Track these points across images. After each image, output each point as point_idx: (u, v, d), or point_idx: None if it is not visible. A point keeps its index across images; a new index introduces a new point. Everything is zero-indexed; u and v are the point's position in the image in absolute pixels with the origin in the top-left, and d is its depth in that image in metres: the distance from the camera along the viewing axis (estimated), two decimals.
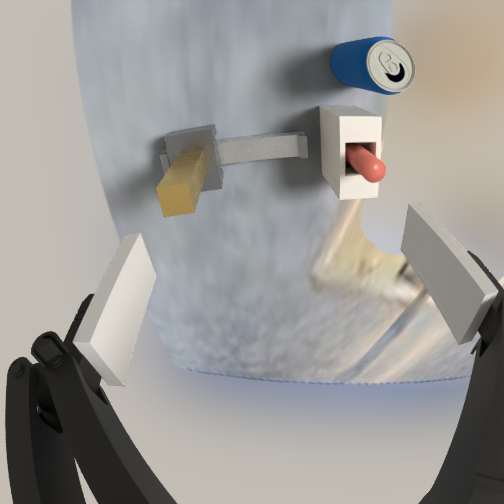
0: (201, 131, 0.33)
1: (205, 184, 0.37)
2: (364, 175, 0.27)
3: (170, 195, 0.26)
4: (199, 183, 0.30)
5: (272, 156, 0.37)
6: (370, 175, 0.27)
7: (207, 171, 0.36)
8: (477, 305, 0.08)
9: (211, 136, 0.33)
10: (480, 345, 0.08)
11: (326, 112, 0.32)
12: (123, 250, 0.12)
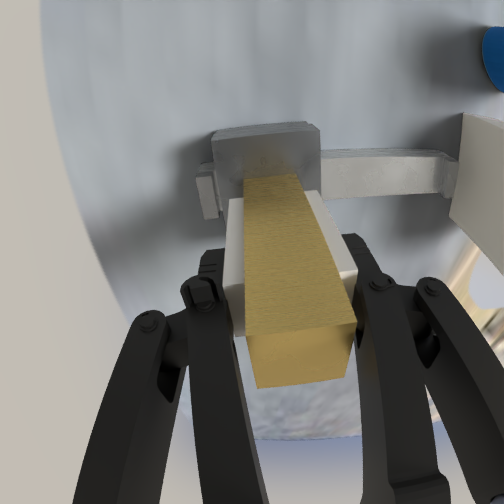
0: (297, 133, 0.15)
1: None
2: None
3: (291, 352, 0.08)
4: None
5: (402, 190, 0.19)
6: None
7: None
8: None
9: (317, 146, 0.15)
10: (355, 335, 0.10)
11: (490, 128, 0.14)
12: (235, 210, 0.14)
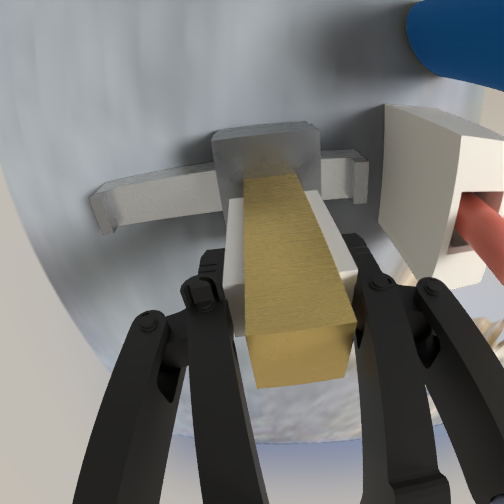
0: (297, 133, 0.15)
1: None
2: (502, 275, 0.10)
3: (291, 352, 0.08)
4: None
5: None
6: None
7: None
8: None
9: (317, 146, 0.15)
10: (355, 335, 0.10)
11: (409, 118, 0.15)
12: (235, 210, 0.14)
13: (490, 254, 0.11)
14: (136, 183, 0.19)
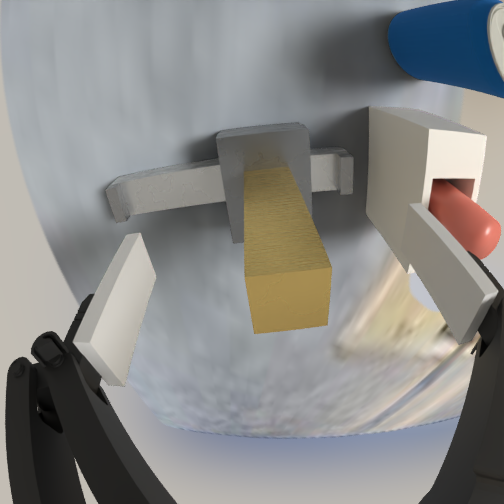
0: (289, 132, 0.18)
1: None
2: (471, 248, 0.12)
3: (280, 294, 0.10)
4: None
5: None
6: (479, 248, 0.12)
7: None
8: (477, 305, 0.08)
9: (307, 143, 0.18)
10: (480, 345, 0.08)
11: (388, 118, 0.17)
12: (123, 250, 0.12)
13: (459, 231, 0.13)
14: (148, 176, 0.21)
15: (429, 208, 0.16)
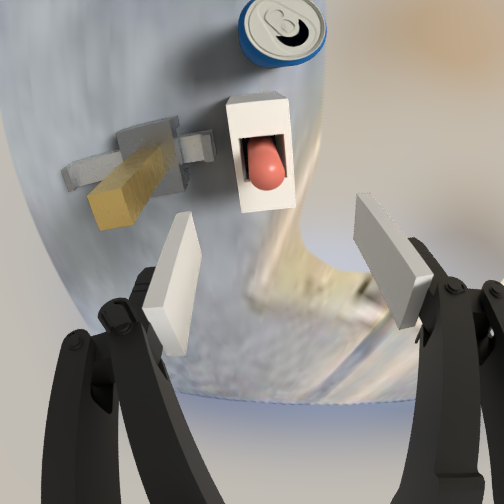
0: (157, 124, 0.26)
1: (165, 187, 0.30)
2: (252, 181, 0.21)
3: (103, 204, 0.19)
4: (148, 187, 0.24)
5: None
6: (261, 180, 0.21)
7: (166, 171, 0.29)
8: (410, 288, 0.09)
9: (169, 129, 0.27)
10: (422, 334, 0.09)
11: None
12: (177, 226, 0.13)
13: None
14: (86, 160, 0.30)
15: None
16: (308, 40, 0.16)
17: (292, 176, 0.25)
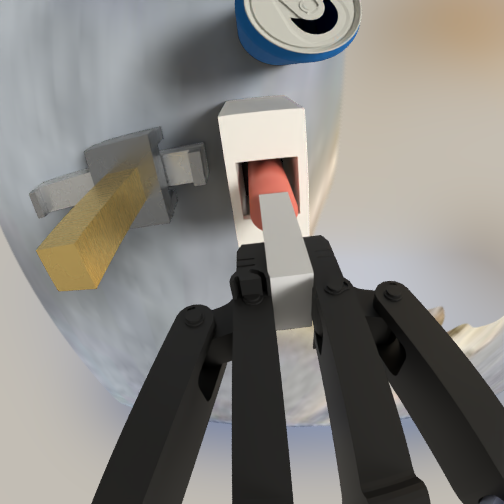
0: (133, 139, 0.20)
1: (146, 217, 0.24)
2: (254, 221, 0.16)
3: (56, 262, 0.13)
4: (119, 227, 0.18)
5: None
6: None
7: (146, 198, 0.23)
8: (290, 286, 0.10)
9: (147, 146, 0.21)
10: (316, 341, 0.10)
11: None
12: (267, 206, 0.14)
13: None
14: (56, 182, 0.24)
15: None
16: (337, 26, 0.10)
17: (307, 212, 0.19)
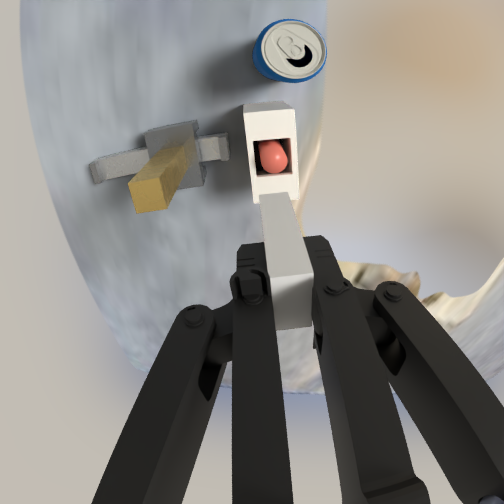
0: (181, 126, 0.31)
1: (186, 181, 0.35)
2: (263, 166, 0.28)
3: (142, 191, 0.24)
4: (176, 179, 0.29)
5: None
6: (270, 165, 0.28)
7: (188, 168, 0.34)
8: (290, 286, 0.10)
9: (191, 131, 0.32)
10: (316, 341, 0.10)
11: None
12: (267, 205, 0.14)
13: None
14: (113, 156, 0.35)
15: None
16: (311, 62, 0.21)
17: (296, 173, 0.30)
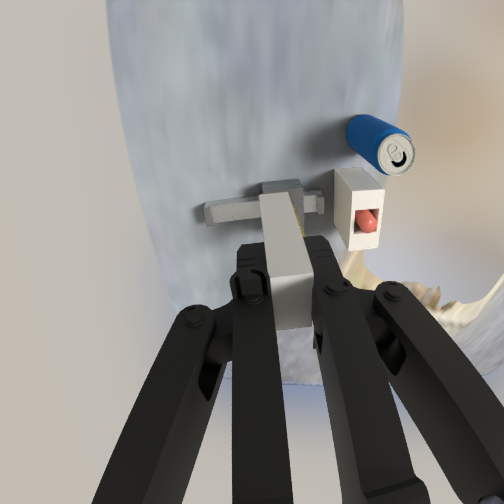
0: (294, 189, 0.43)
1: None
2: (361, 228, 0.40)
3: None
4: None
5: None
6: (366, 228, 0.40)
7: None
8: (290, 286, 0.10)
9: (302, 193, 0.43)
10: (316, 341, 0.10)
11: (341, 179, 0.42)
12: (267, 206, 0.14)
13: (358, 222, 0.41)
14: (225, 204, 0.46)
15: None
16: (405, 163, 0.33)
17: (379, 231, 0.41)
